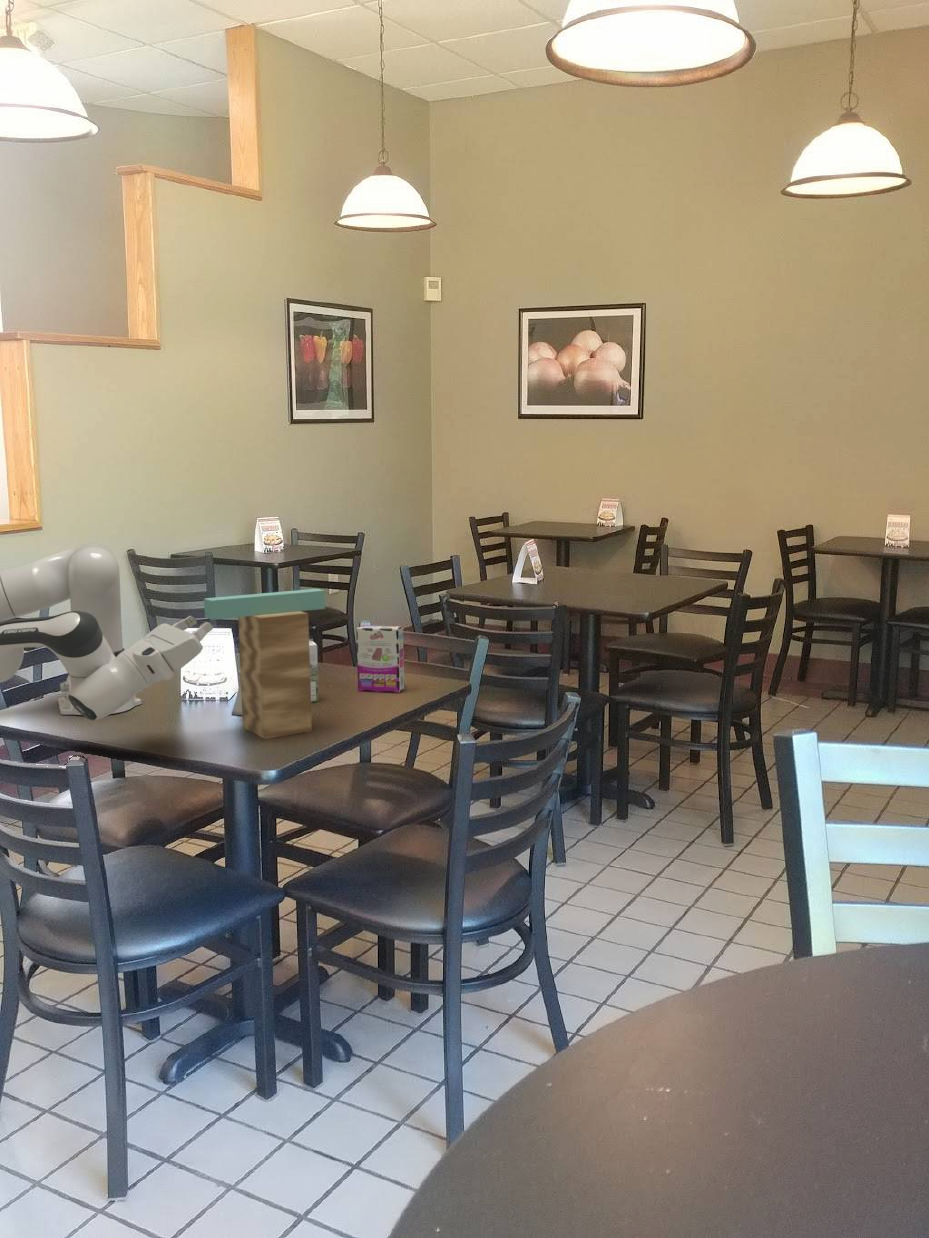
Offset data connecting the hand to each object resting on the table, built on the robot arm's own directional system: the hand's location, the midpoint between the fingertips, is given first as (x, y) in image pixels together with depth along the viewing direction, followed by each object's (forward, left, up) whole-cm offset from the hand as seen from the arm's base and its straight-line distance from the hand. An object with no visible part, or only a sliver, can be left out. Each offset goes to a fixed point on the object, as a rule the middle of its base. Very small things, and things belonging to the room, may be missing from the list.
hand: (202, 621), depth 226 cm
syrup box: (-22, +33, -26) cm, 47 cm away
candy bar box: (-21, +54, -26) cm, 63 cm away
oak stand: (-1, +16, -26) cm, 30 cm away
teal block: (-1, +15, 0) cm, 15 cm away
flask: (-19, +17, -26) cm, 36 cm away
